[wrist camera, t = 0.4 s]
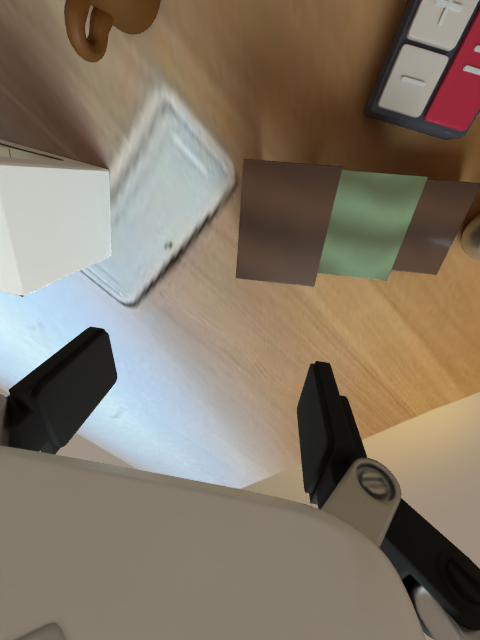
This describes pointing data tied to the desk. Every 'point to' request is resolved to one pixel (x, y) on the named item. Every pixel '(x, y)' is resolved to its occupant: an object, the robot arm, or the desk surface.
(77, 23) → the mug
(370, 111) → the calculator
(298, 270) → the shelf
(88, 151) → the desk surface
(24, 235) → the gable box
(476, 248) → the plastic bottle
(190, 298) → the desk surface
